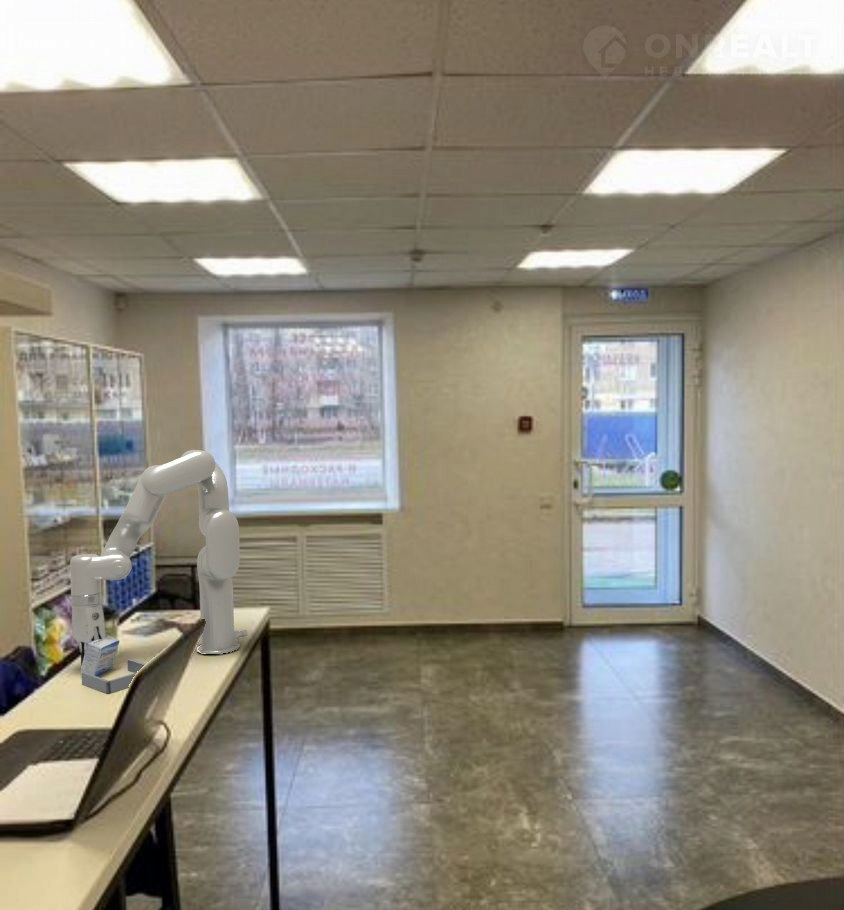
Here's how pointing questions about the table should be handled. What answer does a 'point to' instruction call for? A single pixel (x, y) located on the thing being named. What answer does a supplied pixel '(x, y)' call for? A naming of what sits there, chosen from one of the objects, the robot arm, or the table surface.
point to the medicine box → (100, 655)
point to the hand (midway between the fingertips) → (88, 666)
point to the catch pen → (113, 684)
